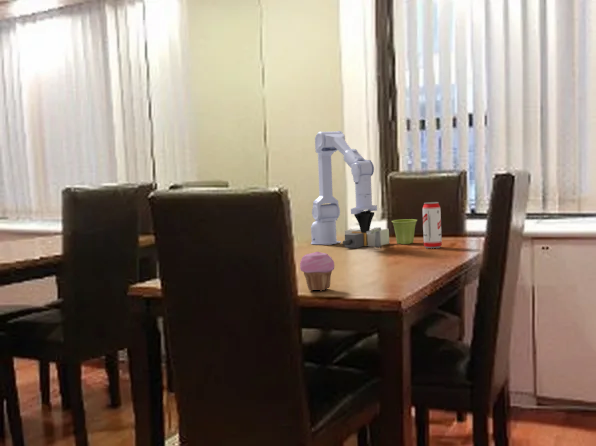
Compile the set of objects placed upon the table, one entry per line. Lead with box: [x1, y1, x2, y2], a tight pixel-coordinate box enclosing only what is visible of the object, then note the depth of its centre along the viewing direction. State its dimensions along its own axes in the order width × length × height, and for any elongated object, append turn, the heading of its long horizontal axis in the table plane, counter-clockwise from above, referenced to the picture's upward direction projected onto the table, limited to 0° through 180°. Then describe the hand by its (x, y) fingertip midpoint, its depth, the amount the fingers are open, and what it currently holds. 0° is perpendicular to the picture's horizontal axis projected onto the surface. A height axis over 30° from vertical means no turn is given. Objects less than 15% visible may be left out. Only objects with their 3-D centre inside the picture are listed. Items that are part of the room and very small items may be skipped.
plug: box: [342, 231, 368, 249], centre depth 276 cm, size 6×15×5 cm, turn 143°
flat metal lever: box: [366, 226, 382, 234], centre depth 268 cm, size 13×3×1 cm, turn 159°
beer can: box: [422, 201, 443, 250], centre depth 262 cm, size 6×6×16 cm
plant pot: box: [391, 218, 418, 245], centre depth 279 cm, size 9×9×9 cm
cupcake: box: [299, 251, 335, 292], centre depth 190 cm, size 9×9×10 cm
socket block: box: [344, 227, 390, 248], centre depth 281 cm, size 16×11×6 cm
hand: (365, 232), depth 266 cm, fingers closed
